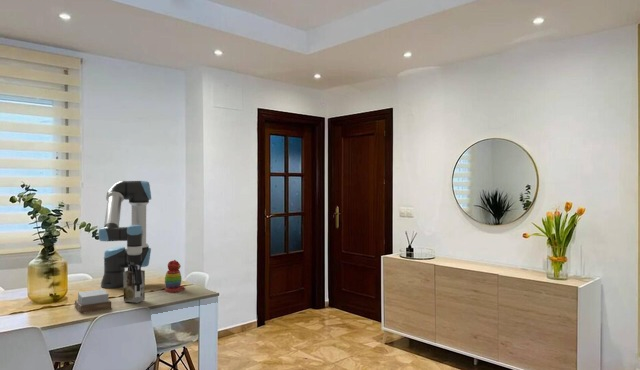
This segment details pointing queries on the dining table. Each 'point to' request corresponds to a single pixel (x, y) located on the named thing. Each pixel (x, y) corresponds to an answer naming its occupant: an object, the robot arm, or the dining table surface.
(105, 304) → the base slab
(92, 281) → the dining table surface
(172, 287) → the stacking bear
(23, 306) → the dining table surface
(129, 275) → the coffee box
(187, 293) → the dining table surface
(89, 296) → the top slab
